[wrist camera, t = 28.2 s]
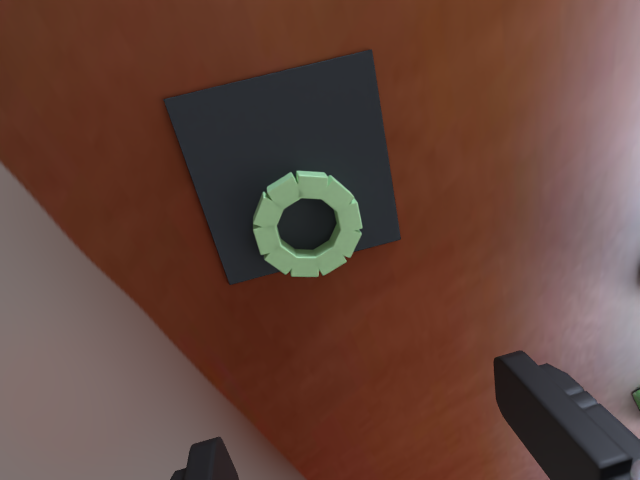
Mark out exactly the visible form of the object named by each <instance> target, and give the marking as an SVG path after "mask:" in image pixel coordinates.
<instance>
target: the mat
mask: <svg viewBox="0 0 640 480" xmlns="http://www.w3.org/2000/svg"><path fill="white" fill-rule="evenodd" d="M164 102H165V105H166V108H167V111H168V113H169V116H170V119H171V122H172V125H173V127H174V130H175V133H176V136H177V139H178V141H179V144H180V147H181V150H182V153H183V155H184V158H185V161H186V164H187V167H188V169H189V172H190V175H191V178H192V181H193V183H194V186H195V189H196V192H197V195H198V197H199V200H200V203H201V206H202V209H203V211H204V214H205V217H206V220H207V223H208V225H209V228H210V231H211V234H212V237H213V239H214V242H215V245H216V248H217V250H218V253H219V256H220V259H221V262H222V264H223V267H224V270H225V273H226V276H227V278H228V281H229V284H230V285H231V284H235V283H239V282H243V281H246V280H250V279H254V278H258V277H261V276H265V275H269V274H273V273H276V272H280V270H278V269H277V268H275V267H274V266H273V265H271V264H270V263H268V262H267V261H265V260H264V255H261V254H260V251H259V248H258V245H257V242H256V239H255V235H254V232H253V216H254V214H255V211H256V208H257V206H258V203H259V201H260V198H261V195H262V193H263V192H266V193H267V187H268V186H269V185H271V184H272V183H274V182H276V181H277V180H279V179H280V178H282V177H284V176H285V175H287V174H288V173H290V172H292V174H293V176H294V177H295V179H296V171H311V172H324V173H325V174H326V175H327V176H329V175H331V176H332V177H334V178H335V179H336V180H337V181H338V182H339V183H340V184H342V185H343V186H344V187H345V188H346V189H347V190H349V191H350V192H351V194H352V195H353V196H354V199H355V200H356V201H357V203H358V207H359V212H360V217H361V222H362V229H359V230H360V232H361V233H362V235H361V237H360V239H359V241H358V243H357V245H356V247H355V249H354V251H353V252H355V251H359V250H363V249H366V248H370V247H374V246H378V245H382V244H385V243H389V242H393V241H397V240H400V239H401V237H400V231H399V224H398V218H397V211H396V204H395V198H394V191H393V185H392V178H391V172H390V165H389V159H388V152H387V146H386V139H385V133H384V126H383V119H382V113H381V106H380V100H379V93H378V87H377V80H376V74H375V67H374V61H373V54H372V50H367V51H363V52H359V53H355V54H351V55H347V56H342V57H338V58H334V59H330V60H326V61H322V62H317V63H313V64H309V65H305V66H301V67H296V68H292V69H288V70H284V71H280V72H276V73H271V74H267V75H263V76H259V77H255V78H251V79H246V80H242V81H238V82H234V83H230V84H226V85H221V86H217V87H213V88H209V89H205V90H201V91H196V92H192V93H188V94H184V95H180V96H176V97H171V98H167V99H164ZM336 224H337V222H336V218H335V213H334V209H333V208H331V207H330V206H329V205H328V204H327V203H325V202H324V201H323V200H322V199H306V198H301V199H299V200H298V201H296V202H294V203H293V204H291V205H290V206H288V207H286V208H285V209H284V210H283V212H282V215H281V217H280V219H279V222H278V224H277V228H278V231H279V235H280V238H281V239H282V240H283V241H285V242H286V243H287V244H289V245H290V246H291V247H293V248H294V249H306V250H314V249H315V248H317V247H318V246H320V245H322V244H323V243H325V242H327V241H328V240H329V239H330V237H331V235H332V233H333V231H334V228H335V226H336Z"/></svg>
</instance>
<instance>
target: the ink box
mask: <svg viewBox="0 0 640 480" xmlns="http://www.w3.org/2000/svg"><path fill="white" fill-rule="evenodd" d="M633 397H634V399H635V401H636V403H637V405H638V407H639V410H640V389H639V390H638V391H636V392H634V393H633Z"/></svg>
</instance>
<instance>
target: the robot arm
mask: <svg viewBox="0 0 640 480" xmlns="http://www.w3.org/2000/svg"><path fill="white" fill-rule="evenodd" d="M494 377H495V392H496V400H497V404H498V407H499V409H500V411H501V413H502V415H503V417H504V418H505V420H506V421H507V423H508V424H509V425H510V427H511V428H512V429H513V431H514V432H515V433H516V435H517V436H518V437H519V439H520V440H521V441H522V443H523V444H524V445H525V447H526V448H527V449H528V451H529V452H530V453H531V455H532V456H533V457H534V459H535V460H536V461H537V463H538V464H539V465H540V467H541V468H542V469H543V471H544V472H545V473H546V475H547V476H548V477H549V478H550V480H640V439H638V438H637V437H636V436H635V435H634V434H633V433H632V432H631V431H630V430H629V429H627V428H626V427H625V426H624V425H623V424H622V423H621V422H620V421H619V420H618V419H616V418H615V417H614V416H613V415H612V414H611V413H610V412H609V411H608V410H607V409H606V408H604V407H603V406H602V405H601V404H600V403H599V404H598V403H597V401H596V399H595V398H593V397H592V396H591V395H590V394H589V393H588V392H587V391H584V389H583V387H581V386H580V385H579V384H578V383H577V382H576V381H575V380H574V379H573V378H572V377H570V376H569V375H568V374H567V373H565V372H563V371H561V370H559V369H557V368H555V367H553V366H551V365H549V364H547V363H546V364H543V365H539V366H538V365H537V364H536V363H535V362H534V361H533V360H532V359H531V358H530V357H529V356H528V355H527V354H526V353H525V352H523V351H516V352H513V353H509V354H506V355H502V356H499V357H496V358H494ZM170 480H239V478H238V475H237V472H236V469H235V467H234V465H233V463H232V460H231V458H230V456H229V454H228V451H227V449H226V447H225V444H224V443H223V440H222V439H221V437H216V438H213V439H209V440H206V441H203V442H199V443H195V444H193V445H192V446H191V448H190V451H189V457H188V462H187V467H186V468H185V469H181V470H177V471H175V472H174V474H173V476H172V477H171V479H170Z"/></svg>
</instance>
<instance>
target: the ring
mask: <svg viewBox="0 0 640 480" xmlns="http://www.w3.org/2000/svg"><path fill="white" fill-rule="evenodd" d="M301 198H306V199H322V200H323V201H324V202H325V203H327V204H328V205H329V206H330V207H331V208H333V209H334V213H335V218H336V222H337V224H336V226H335V228H334V231H333V233H332V235H331V237H330V239H329V240H328V241H327V242H325V243H323V244H322V245H320V246H318V247H317V248H315V249H314V250H306V249H294V248H293V247H291V246H290V245H289V244H287V243H286V242H285V241H283V240H282V239H281V238H280V235H279V231H278V228H277V224H278V222H279V219H280V217H281V215H282V212H283V210H284V209H285V208H286V207H288V206H290V205H291V204H293V203H294V202H296V201H298V200H299V199H301ZM359 229H362V222H361V217H360V212H359V207H358V203H357V201H356V200H355V199H354V196H353V195H352V194H351V192H350V191H349V190H347V189H346V188H345V187H344V186H343V185H342V184H340V183H339V182H338V181H337V180H336V179H335V178H334V177H332V176H331V175H329V176H327V175H326V174H325V173H324V172H311V171H296V179H295V177H294V176H293V174H292V172H290V173H288V174H287V175H285V176H284V177H282V178H280V179H279V180H277V181H276V182H274V183H272V184H271V185H269V186H268V187H267V193H266V192H263V193H262V195H261V198H260V201H259V203H258V206H257V208H256V211H255V214H254V216H253V232H254V235H255V239H256V242H257V245H258V248H259V251H260V254H261V255H264V260H265V261H267V262H268V263H270V264H271V265H273V266H274V267H275V268H277V269H278V270H280V271H281V272H282V273H284V274H285V275H286V274H287V273H288V272H289V271H290V274H291V276H292V277H318V275H319V270H320V272H321V273H322V275H323V276H324V275H326V274H327V273H329V272H331V271H332V270H334V269H336V268H337V267H339V266H341V265H342V264H344V263H346V262H347V261H346V259H345V257H344V256H346V257H349V258H350V257H351V255H352V253H353V251H354V249H355V247H356V245H357V243H358V241H359V239H360V237H361V235H362V233H361V232H360V230H359Z"/></svg>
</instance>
